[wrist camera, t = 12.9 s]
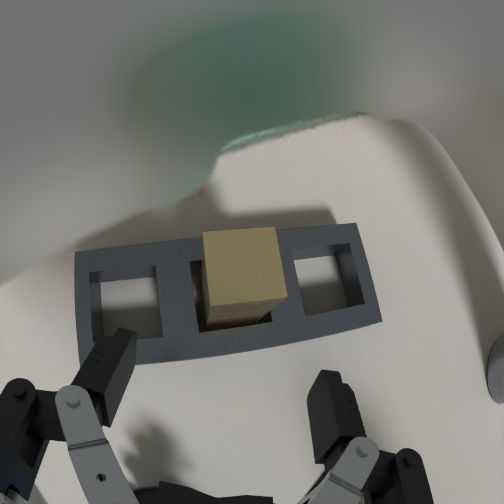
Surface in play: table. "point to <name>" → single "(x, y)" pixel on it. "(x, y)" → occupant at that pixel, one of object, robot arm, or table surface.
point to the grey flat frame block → (183, 305)
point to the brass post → (240, 275)
